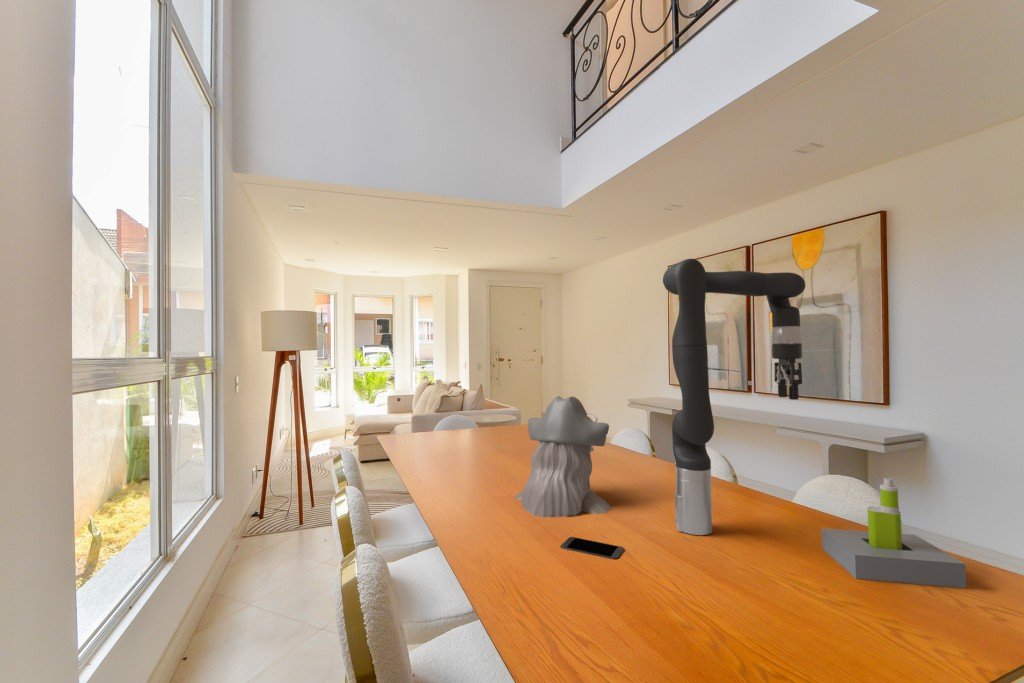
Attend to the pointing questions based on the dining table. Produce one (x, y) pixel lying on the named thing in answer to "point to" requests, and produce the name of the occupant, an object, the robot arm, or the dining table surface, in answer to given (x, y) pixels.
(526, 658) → the dining table surface
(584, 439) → the bust
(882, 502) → the vape
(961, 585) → the charging dock
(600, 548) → the smartphone
